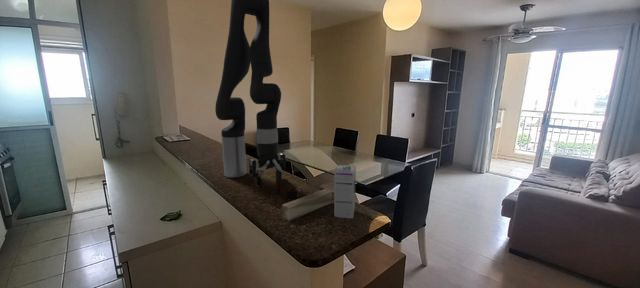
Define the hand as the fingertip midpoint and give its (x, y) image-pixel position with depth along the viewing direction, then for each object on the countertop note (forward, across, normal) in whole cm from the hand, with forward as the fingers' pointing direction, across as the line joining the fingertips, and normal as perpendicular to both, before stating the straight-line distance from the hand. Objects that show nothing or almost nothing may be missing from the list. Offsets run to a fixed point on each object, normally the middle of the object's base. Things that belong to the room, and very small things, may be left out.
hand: (268, 183), depth 97 cm
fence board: (+3, 0, +22) cm, 22 cm away
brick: (+3, -2, +8) cm, 9 cm away
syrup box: (+3, -6, +31) cm, 32 cm away
